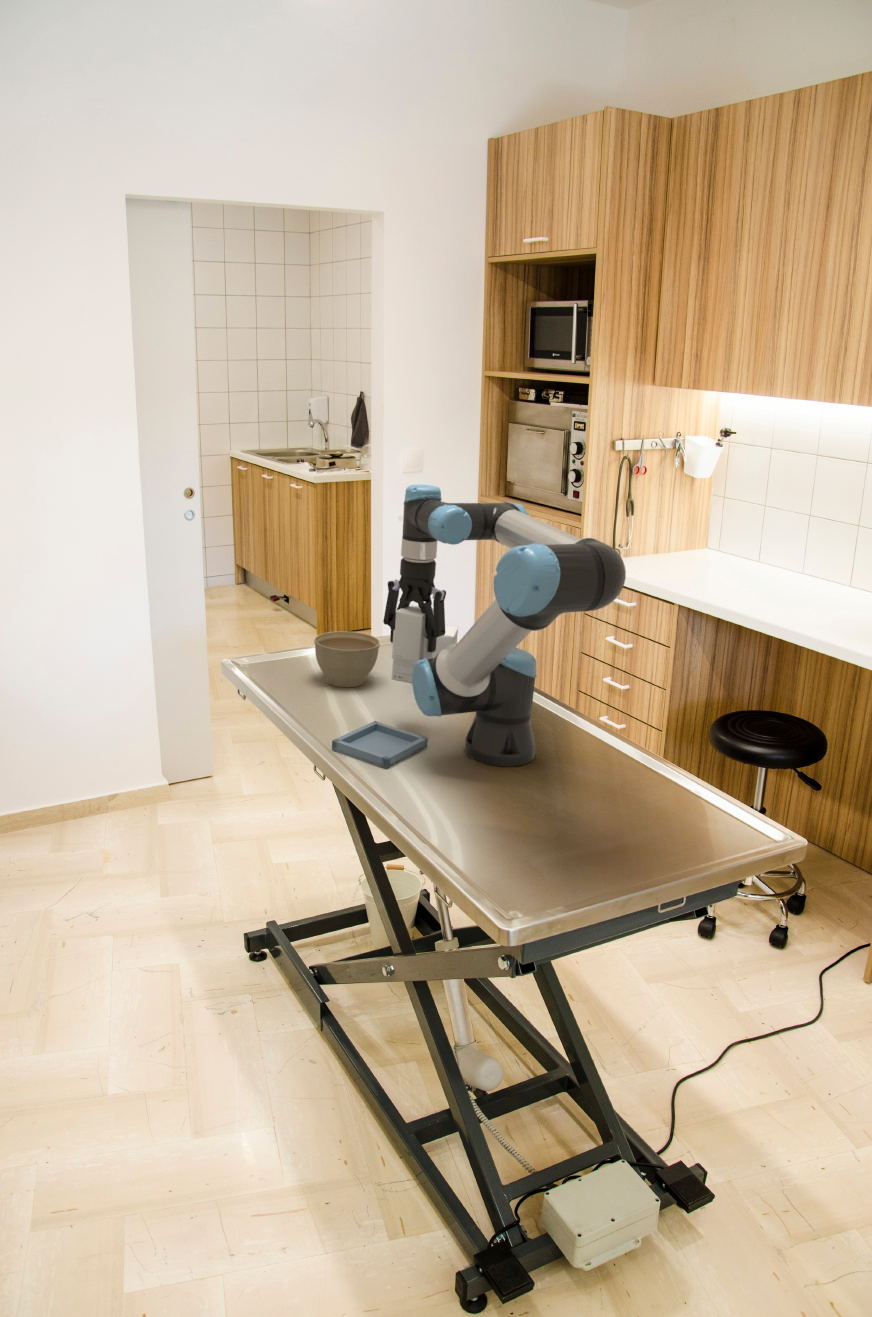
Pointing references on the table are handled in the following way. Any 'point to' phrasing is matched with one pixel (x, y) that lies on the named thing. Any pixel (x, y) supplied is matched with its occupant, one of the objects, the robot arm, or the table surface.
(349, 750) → the tray
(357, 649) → the planter bowl
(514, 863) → the table surface
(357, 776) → the table surface
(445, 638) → the supplement box
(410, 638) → the skincare box
